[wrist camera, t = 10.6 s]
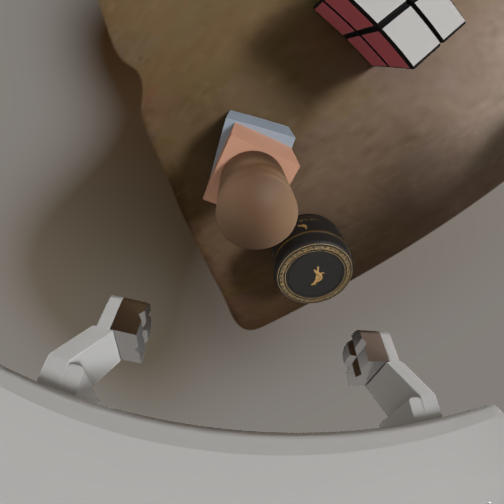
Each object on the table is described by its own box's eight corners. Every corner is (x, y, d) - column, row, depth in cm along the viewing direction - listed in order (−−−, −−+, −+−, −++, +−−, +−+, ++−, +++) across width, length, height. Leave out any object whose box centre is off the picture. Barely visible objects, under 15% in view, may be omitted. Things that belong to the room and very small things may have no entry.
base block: (288, 126, 32) (295, 137, 27) (270, 178, 36) (273, 198, 31) (230, 110, 31) (225, 117, 26) (215, 164, 35) (208, 182, 30)
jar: (332, 200, 37) (347, 229, 31) (345, 257, 43) (360, 292, 37) (260, 222, 40) (262, 256, 33) (283, 276, 45) (287, 313, 39)
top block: (290, 147, 28) (300, 166, 23) (264, 196, 31) (266, 224, 26) (234, 122, 26) (230, 135, 21) (211, 174, 29) (202, 199, 24)
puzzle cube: (372, 67, 27) (413, 71, 19) (311, 8, 23) (334, -13, 15) (420, 26, 23) (468, 22, 15) (364, -33, 19) (400, -57, 11)
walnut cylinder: (292, 158, 22) (308, 186, 18) (275, 215, 25) (284, 255, 20) (227, 144, 22) (224, 168, 17) (214, 203, 24) (209, 242, 19)
